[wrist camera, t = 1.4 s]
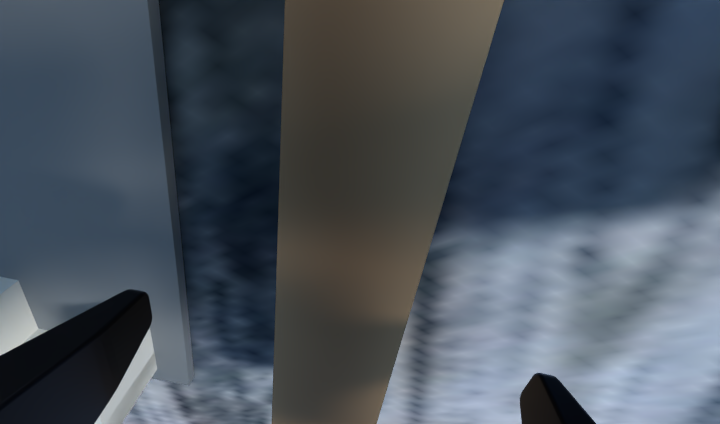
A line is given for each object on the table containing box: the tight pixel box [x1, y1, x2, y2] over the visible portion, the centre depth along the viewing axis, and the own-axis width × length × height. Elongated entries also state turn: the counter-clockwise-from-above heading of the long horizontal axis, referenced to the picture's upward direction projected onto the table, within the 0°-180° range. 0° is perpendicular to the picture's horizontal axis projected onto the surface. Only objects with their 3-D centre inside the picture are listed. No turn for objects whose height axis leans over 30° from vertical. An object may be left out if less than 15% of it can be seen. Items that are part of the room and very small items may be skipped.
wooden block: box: [272, 0, 504, 424], centre depth 12 cm, size 4×20×6 cm, turn 172°
